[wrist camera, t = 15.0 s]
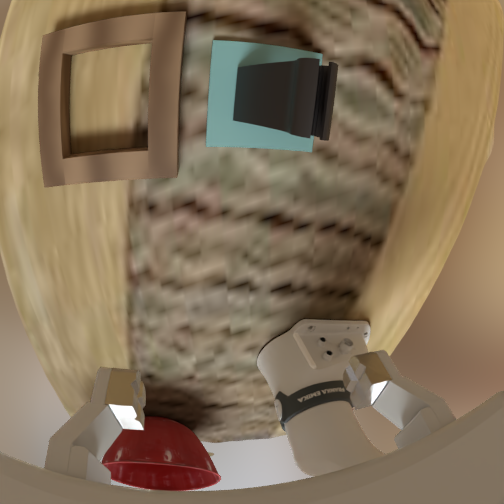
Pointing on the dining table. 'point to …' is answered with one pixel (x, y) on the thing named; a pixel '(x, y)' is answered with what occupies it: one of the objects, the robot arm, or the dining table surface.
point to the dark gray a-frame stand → (287, 96)
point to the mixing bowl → (160, 458)
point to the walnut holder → (159, 106)
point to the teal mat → (223, 97)
